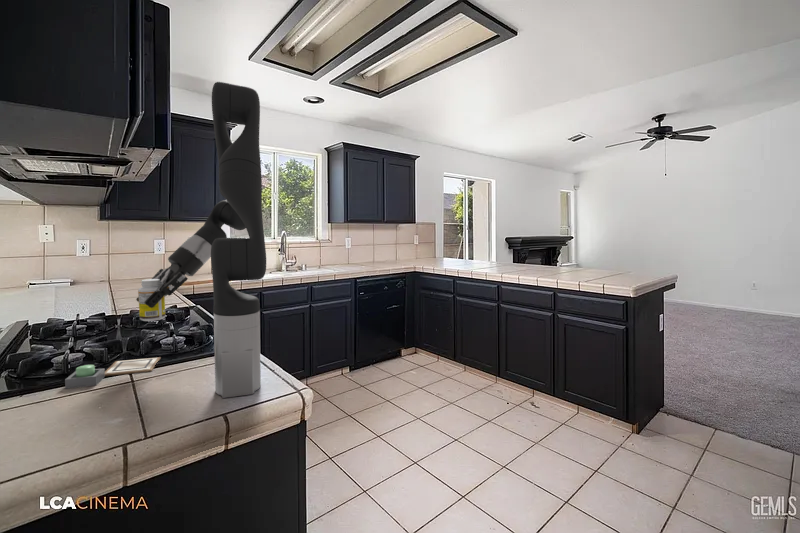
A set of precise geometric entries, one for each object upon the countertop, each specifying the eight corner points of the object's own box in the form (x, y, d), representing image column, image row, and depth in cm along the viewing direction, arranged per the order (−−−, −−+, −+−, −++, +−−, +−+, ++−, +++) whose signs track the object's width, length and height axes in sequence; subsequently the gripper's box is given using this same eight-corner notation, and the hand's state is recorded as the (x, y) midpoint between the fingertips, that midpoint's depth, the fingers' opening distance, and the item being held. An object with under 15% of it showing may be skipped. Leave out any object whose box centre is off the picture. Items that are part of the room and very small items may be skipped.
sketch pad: (151, 371, 91) (151, 369, 91) (101, 376, 87) (101, 374, 87) (160, 358, 100) (160, 356, 100) (115, 362, 96) (115, 360, 96)
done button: (91, 378, 82) (91, 368, 82) (73, 380, 81) (73, 370, 81) (97, 373, 85) (96, 364, 85) (79, 375, 84) (79, 365, 84)
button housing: (96, 385, 82) (95, 376, 82) (65, 388, 80) (64, 379, 80) (105, 376, 87) (104, 368, 87) (76, 379, 85) (75, 371, 85)
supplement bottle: (156, 316, 99) (154, 278, 98) (170, 318, 96) (168, 279, 96) (134, 320, 94) (132, 280, 93) (148, 322, 91) (146, 281, 90)
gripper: (171, 245, 104) (121, 291, 95) (192, 246, 95) (140, 298, 86) (191, 262, 108) (146, 309, 100) (214, 266, 99) (166, 316, 91)
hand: (143, 303), depth 93 cm, fingers closed on supplement bottle, 5 cm apart
